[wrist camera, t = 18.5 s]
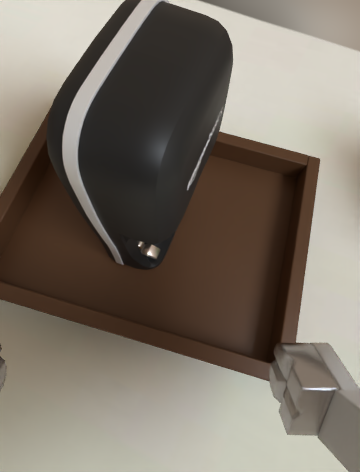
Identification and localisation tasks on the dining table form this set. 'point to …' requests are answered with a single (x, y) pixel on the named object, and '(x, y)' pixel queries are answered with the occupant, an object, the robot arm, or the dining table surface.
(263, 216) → the tray
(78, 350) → the dining table surface
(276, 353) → the robot arm
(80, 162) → the battery charger
